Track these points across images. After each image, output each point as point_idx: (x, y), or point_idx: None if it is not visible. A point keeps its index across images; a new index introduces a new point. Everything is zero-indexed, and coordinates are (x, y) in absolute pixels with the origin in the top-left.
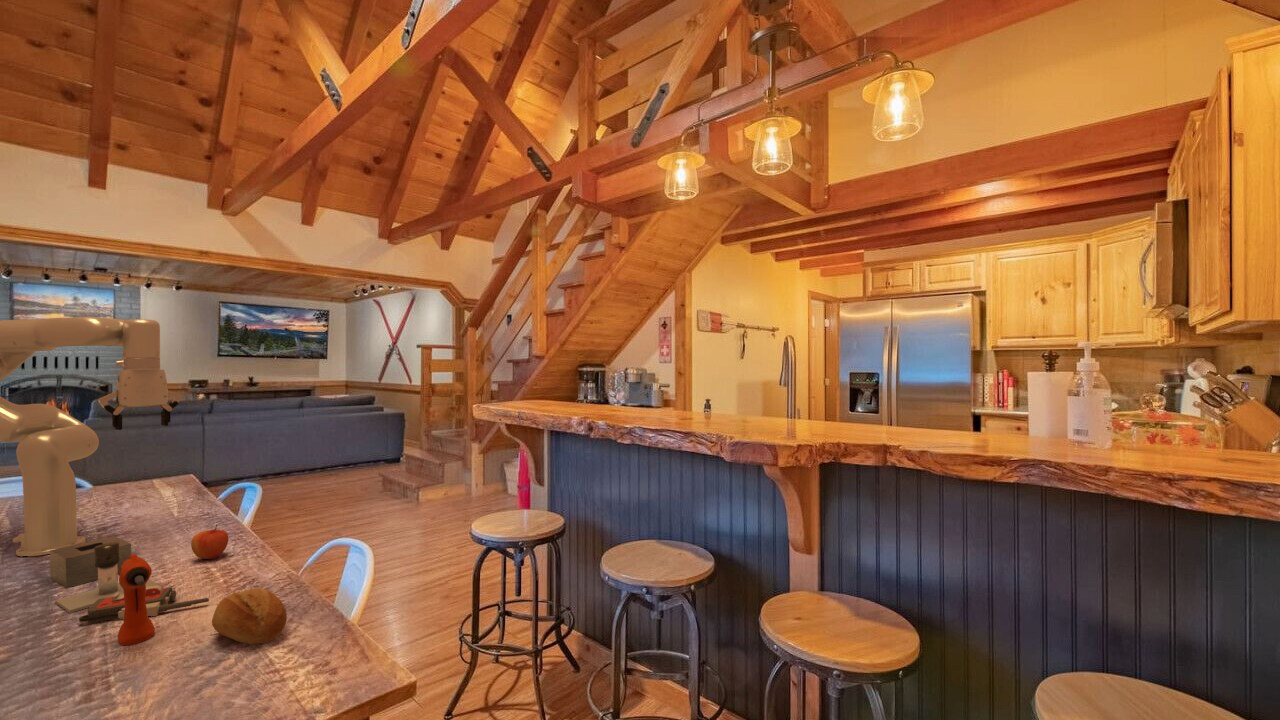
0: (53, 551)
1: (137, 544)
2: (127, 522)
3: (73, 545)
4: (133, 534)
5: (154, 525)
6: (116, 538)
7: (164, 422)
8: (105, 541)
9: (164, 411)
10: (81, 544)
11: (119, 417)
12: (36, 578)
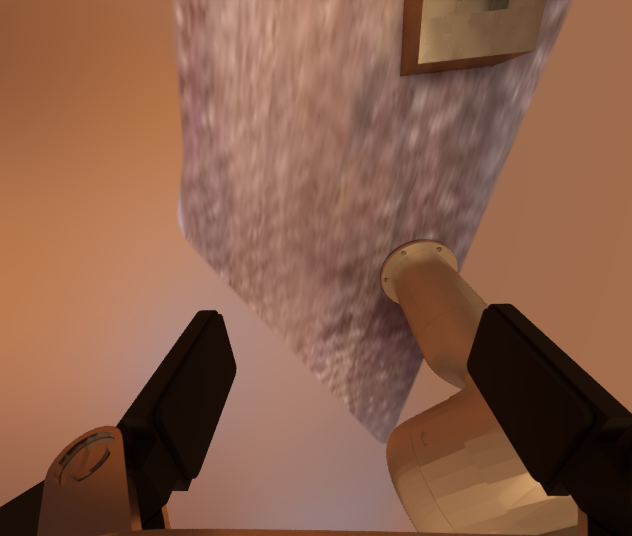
0: (538, 24)
1: (339, 181)
2: (314, 332)
3: (495, 48)
4: (326, 256)
5: (292, 285)
6: (424, 23)
7: (214, 336)
8: (449, 13)
9: (163, 449)
10: (483, 41)
11: (597, 385)
12: (501, 93)
